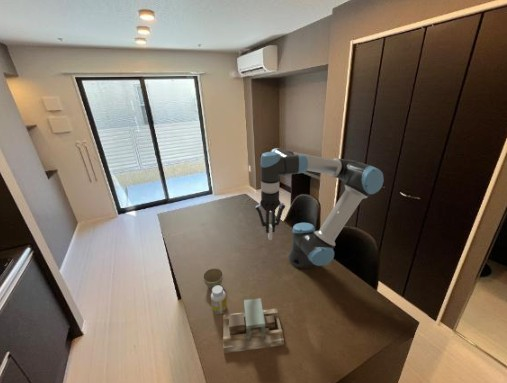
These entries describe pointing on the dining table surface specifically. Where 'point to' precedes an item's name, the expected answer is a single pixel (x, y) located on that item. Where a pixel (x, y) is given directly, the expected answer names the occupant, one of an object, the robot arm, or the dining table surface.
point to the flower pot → (213, 277)
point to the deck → (253, 337)
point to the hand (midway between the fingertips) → (270, 238)
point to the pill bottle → (218, 300)
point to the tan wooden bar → (239, 323)
